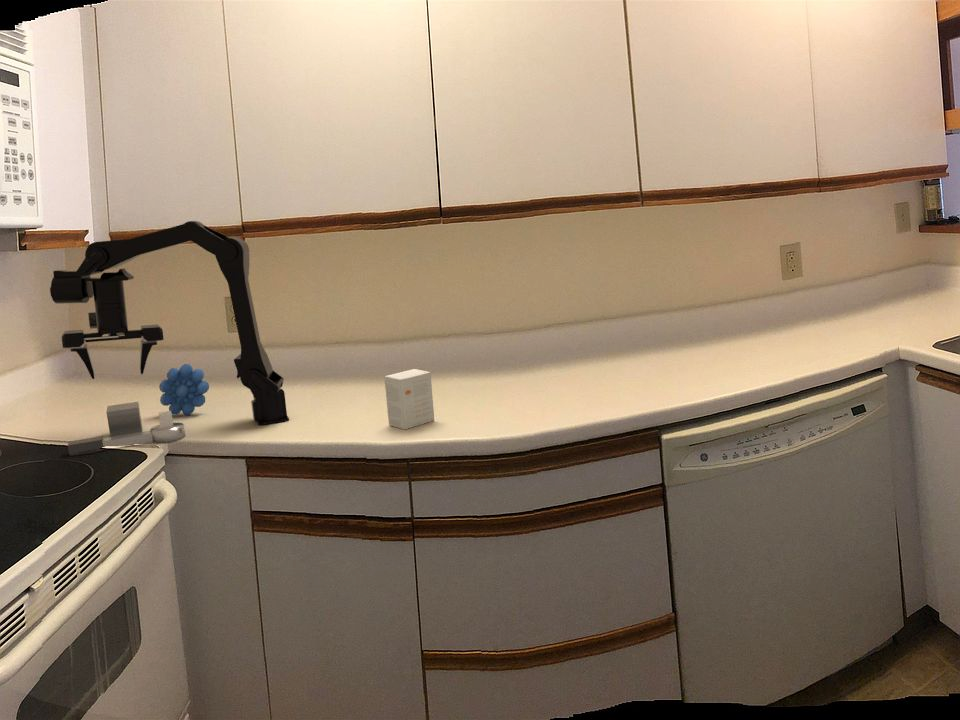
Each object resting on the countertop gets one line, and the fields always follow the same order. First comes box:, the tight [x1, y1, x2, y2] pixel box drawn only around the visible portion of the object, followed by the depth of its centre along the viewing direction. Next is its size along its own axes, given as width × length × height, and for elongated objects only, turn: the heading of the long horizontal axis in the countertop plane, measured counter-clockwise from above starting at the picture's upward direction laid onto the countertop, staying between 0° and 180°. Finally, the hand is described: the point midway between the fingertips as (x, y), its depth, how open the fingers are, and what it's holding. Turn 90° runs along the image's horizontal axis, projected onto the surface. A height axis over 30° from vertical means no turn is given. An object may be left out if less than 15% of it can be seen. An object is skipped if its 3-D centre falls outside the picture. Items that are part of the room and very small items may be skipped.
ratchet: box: [67, 410, 186, 455], centre depth 148 cm, size 21×6×6 cm, turn 113°
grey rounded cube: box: [106, 401, 143, 437], centre depth 156 cm, size 6×6×6 cm
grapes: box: [158, 363, 210, 416], centre depth 169 cm, size 12×7×12 cm, turn 88°
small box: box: [383, 368, 435, 430], centre depth 151 cm, size 8×6×10 cm
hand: (117, 376), depth 155 cm, fingers open, 9 cm apart
